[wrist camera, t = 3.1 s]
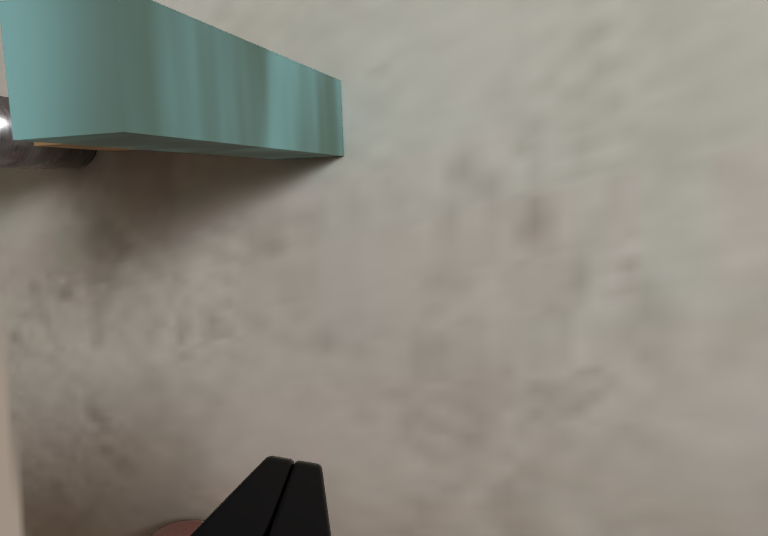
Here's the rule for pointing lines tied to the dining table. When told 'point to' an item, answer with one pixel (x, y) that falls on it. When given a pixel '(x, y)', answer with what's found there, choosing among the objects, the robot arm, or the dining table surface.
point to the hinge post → (35, 149)
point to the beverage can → (179, 528)
